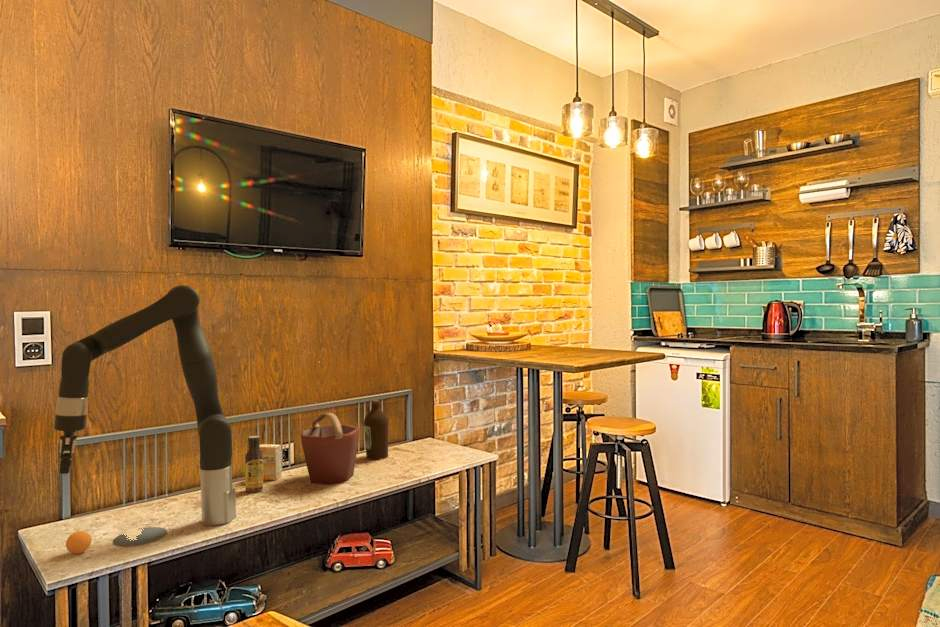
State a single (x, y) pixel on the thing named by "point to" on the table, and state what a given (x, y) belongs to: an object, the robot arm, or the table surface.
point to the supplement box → (271, 461)
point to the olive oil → (376, 433)
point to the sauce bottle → (254, 466)
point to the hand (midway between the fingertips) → (65, 469)
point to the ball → (78, 542)
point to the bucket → (330, 450)
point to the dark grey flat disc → (141, 537)
